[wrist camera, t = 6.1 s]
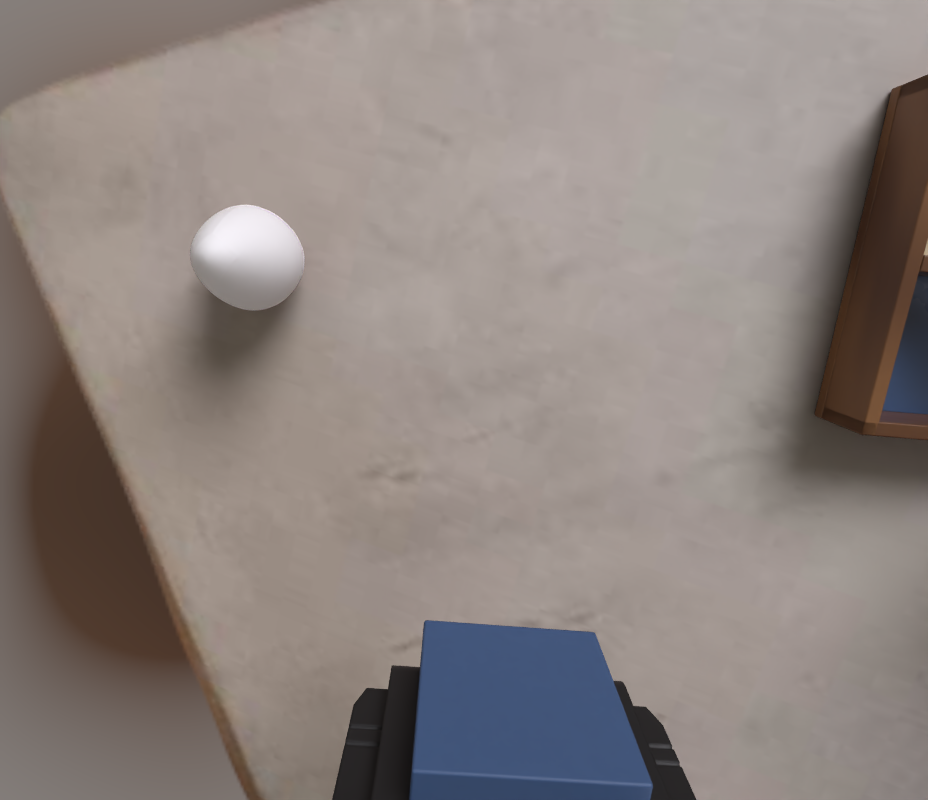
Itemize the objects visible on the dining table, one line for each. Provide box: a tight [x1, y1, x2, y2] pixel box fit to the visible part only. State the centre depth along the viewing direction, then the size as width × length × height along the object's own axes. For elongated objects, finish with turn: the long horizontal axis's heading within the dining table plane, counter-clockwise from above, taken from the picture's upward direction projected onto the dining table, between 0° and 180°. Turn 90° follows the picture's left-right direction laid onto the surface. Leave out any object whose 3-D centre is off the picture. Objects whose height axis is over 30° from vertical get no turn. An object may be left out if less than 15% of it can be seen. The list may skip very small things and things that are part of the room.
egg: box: [190, 205, 305, 311], centre depth 20 cm, size 4×4×6 cm
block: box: [409, 620, 653, 800], centre depth 12 cm, size 4×4×4 cm
